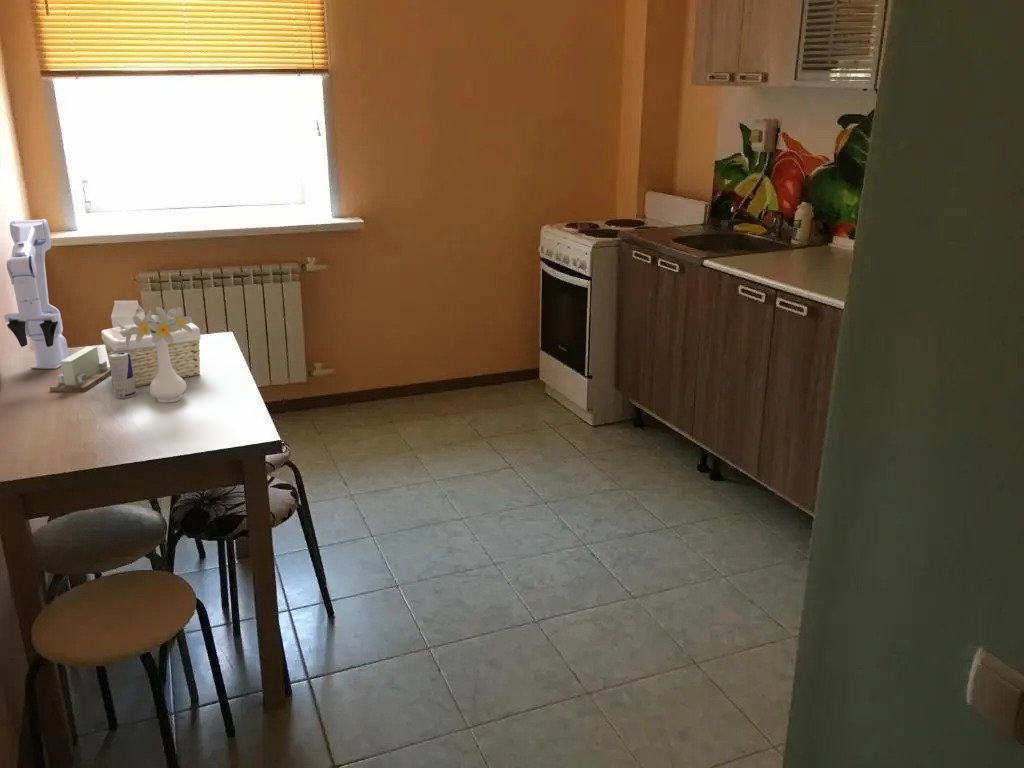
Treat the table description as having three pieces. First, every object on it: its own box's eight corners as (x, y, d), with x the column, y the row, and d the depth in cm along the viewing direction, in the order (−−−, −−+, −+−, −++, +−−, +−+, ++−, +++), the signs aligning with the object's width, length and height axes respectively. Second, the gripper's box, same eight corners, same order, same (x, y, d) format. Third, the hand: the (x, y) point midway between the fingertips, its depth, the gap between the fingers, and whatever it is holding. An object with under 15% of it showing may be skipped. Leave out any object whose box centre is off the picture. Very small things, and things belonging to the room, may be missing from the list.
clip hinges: (84, 368, 254) (83, 360, 253) (107, 369, 254) (106, 361, 253) (58, 384, 241) (57, 376, 240) (82, 385, 240) (81, 376, 240)
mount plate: (83, 370, 256) (83, 366, 256) (116, 370, 256) (115, 367, 255) (50, 391, 239) (49, 387, 239) (85, 391, 239) (84, 387, 238)
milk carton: (142, 364, 262) (132, 303, 255) (118, 364, 262) (108, 303, 256) (151, 357, 268) (142, 297, 262) (128, 357, 269) (119, 298, 262)
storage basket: (189, 362, 264) (183, 315, 259) (207, 375, 252) (201, 327, 247) (106, 378, 250) (98, 329, 245) (121, 393, 238) (113, 341, 233)
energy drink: (140, 392, 238) (133, 351, 234) (130, 399, 233) (123, 357, 229) (121, 392, 238) (114, 350, 234) (111, 398, 233) (104, 356, 229)
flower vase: (125, 400, 232) (111, 310, 224) (195, 386, 242) (183, 300, 234) (136, 414, 222) (121, 321, 214) (209, 400, 232) (197, 310, 223)
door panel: (90, 369, 254) (86, 346, 251) (100, 369, 253) (96, 346, 251) (65, 385, 240) (60, 361, 238) (75, 385, 240) (71, 361, 238)
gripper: (-7, 302, 237) (3, 349, 241) (45, 302, 236) (54, 350, 240) (9, 296, 243) (18, 342, 248) (59, 296, 243) (67, 342, 247)
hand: (37, 345), depth 245 cm, fingers open, 7 cm apart
